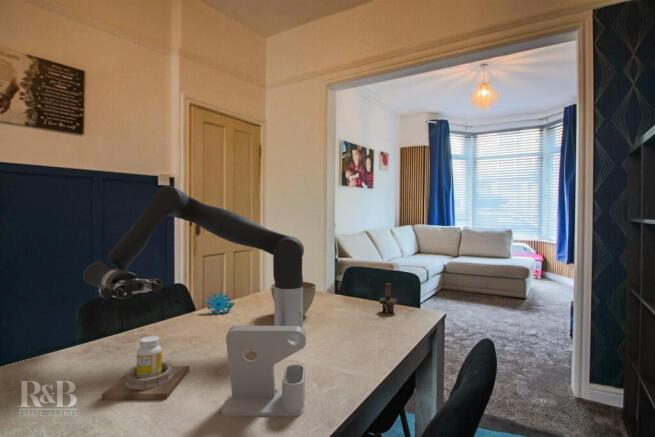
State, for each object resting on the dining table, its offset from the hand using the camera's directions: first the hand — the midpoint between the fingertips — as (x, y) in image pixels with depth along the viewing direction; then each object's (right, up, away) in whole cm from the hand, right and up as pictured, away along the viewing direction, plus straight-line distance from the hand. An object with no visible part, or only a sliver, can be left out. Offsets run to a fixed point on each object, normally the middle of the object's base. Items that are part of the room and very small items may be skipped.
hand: (141, 291), depth 89 cm
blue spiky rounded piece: (+3, -21, +56) cm, 60 cm away
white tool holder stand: (+34, -22, -13) cm, 42 cm away
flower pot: (+33, -21, +53) cm, 66 cm away
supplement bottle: (+5, -20, -5) cm, 21 cm away
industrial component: (+72, -21, +58) cm, 95 cm away
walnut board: (+5, -21, -5) cm, 22 cm away
